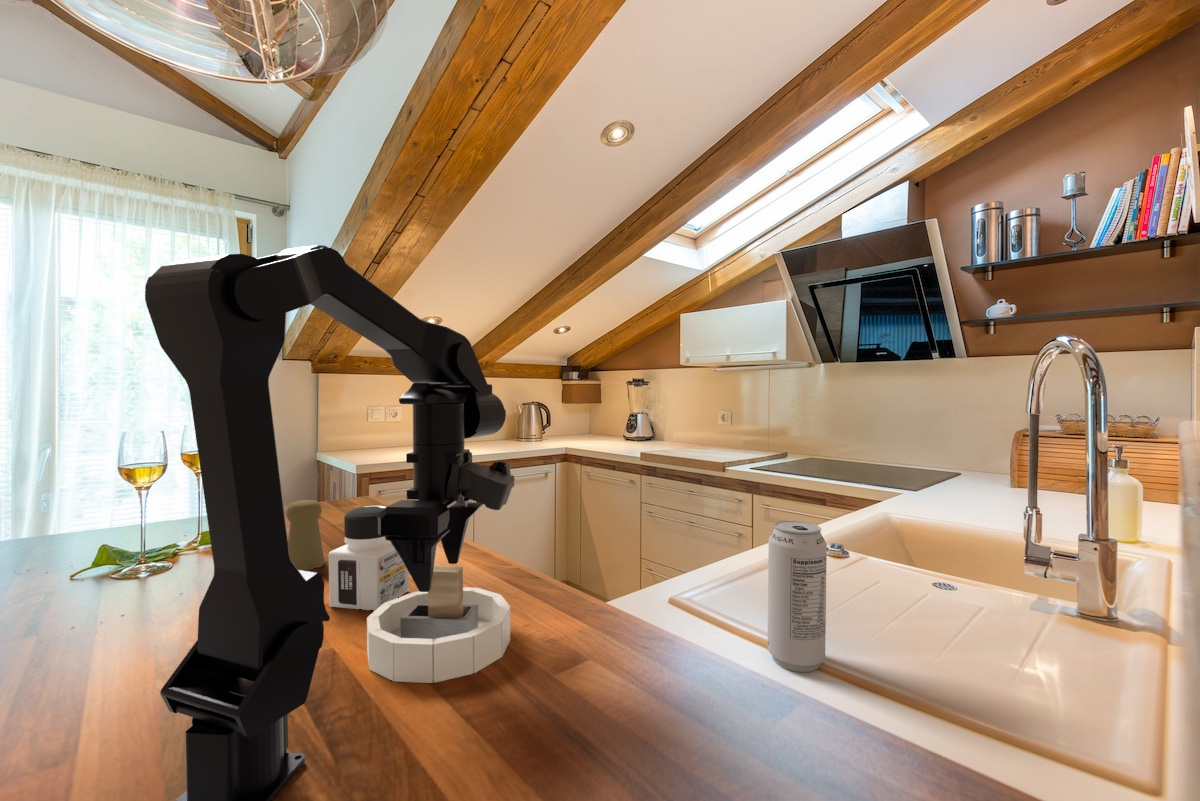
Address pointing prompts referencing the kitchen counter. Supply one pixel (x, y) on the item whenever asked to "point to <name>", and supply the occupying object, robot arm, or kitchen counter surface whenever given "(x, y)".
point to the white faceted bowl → (437, 640)
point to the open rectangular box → (436, 623)
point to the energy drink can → (797, 595)
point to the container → (365, 565)
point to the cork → (305, 534)
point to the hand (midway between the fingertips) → (440, 576)
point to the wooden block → (446, 592)
